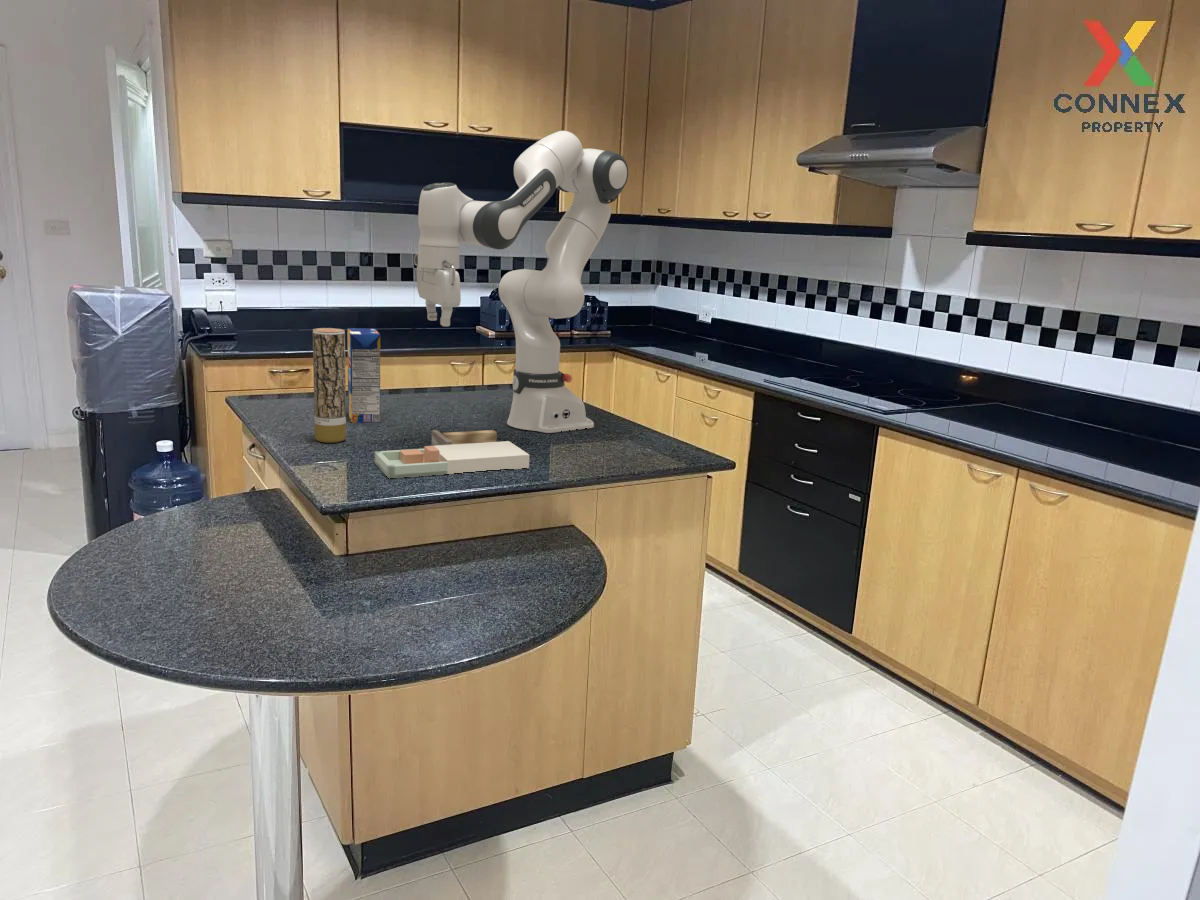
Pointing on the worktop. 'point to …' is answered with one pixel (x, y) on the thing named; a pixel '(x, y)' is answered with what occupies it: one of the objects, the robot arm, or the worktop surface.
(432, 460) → the tile
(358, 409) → the beverage box
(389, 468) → the tray
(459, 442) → the scraper
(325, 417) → the paper tube
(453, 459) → the board
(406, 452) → the tile
